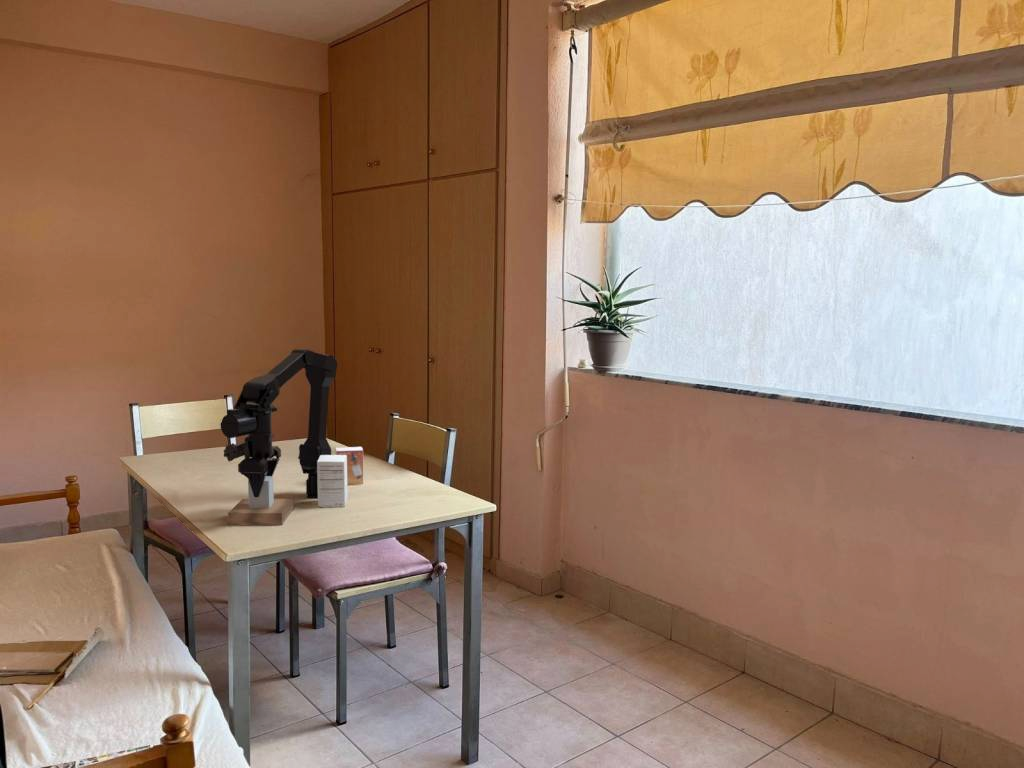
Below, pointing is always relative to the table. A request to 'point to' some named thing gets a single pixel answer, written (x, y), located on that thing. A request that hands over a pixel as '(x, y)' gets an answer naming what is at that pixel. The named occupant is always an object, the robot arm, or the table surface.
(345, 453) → the small box
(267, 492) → the grey block
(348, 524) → the table surface
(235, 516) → the walnut base
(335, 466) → the supplement box
